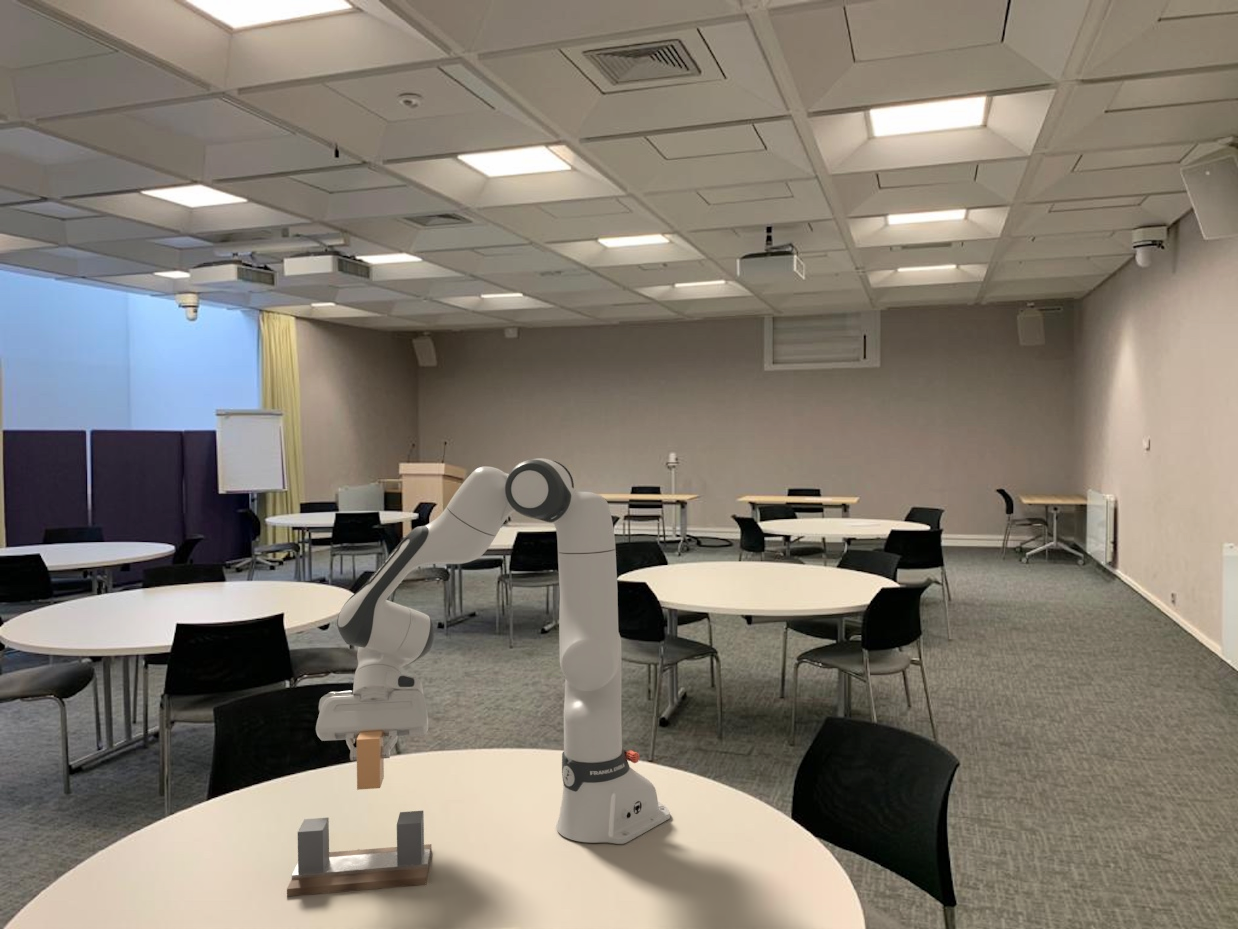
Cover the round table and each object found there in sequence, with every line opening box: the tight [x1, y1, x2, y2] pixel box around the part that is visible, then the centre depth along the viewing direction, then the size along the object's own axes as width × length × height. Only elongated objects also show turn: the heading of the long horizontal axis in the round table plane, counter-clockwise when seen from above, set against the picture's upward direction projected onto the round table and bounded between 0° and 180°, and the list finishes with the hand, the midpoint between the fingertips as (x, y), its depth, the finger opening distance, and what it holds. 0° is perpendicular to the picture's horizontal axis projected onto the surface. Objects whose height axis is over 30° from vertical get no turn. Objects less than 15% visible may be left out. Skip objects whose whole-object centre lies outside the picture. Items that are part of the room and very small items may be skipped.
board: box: [286, 843, 433, 897], centre depth 143 cm, size 22×12×1 cm, turn 98°
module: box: [355, 731, 385, 791], centre depth 153 cm, size 4×5×9 cm
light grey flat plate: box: [291, 849, 430, 879], centre depth 143 cm, size 22×6×1 cm, turn 98°
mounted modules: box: [297, 810, 425, 874], centre depth 143 cm, size 20×5×7 cm, turn 98°
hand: (369, 758), depth 152 cm, fingers closed on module, 4 cm apart
